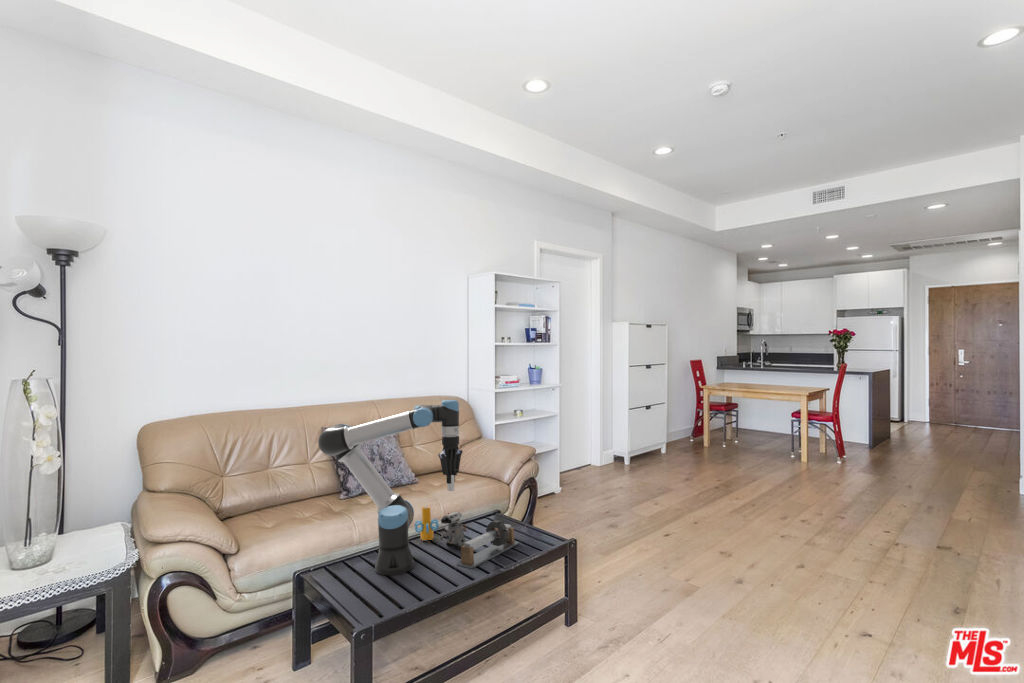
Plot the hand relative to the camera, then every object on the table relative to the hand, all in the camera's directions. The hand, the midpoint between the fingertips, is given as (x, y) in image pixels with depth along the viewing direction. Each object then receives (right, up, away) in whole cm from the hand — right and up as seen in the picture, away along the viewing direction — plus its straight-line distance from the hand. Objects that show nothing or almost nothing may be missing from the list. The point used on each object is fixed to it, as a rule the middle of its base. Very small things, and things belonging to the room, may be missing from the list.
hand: (450, 490), depth 223 cm
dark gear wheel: (+20, -24, 0) cm, 31 cm away
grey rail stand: (+17, -26, -5) cm, 31 cm away
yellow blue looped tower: (-13, -28, +17) cm, 35 cm away
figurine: (0, -27, +5) cm, 27 cm away
